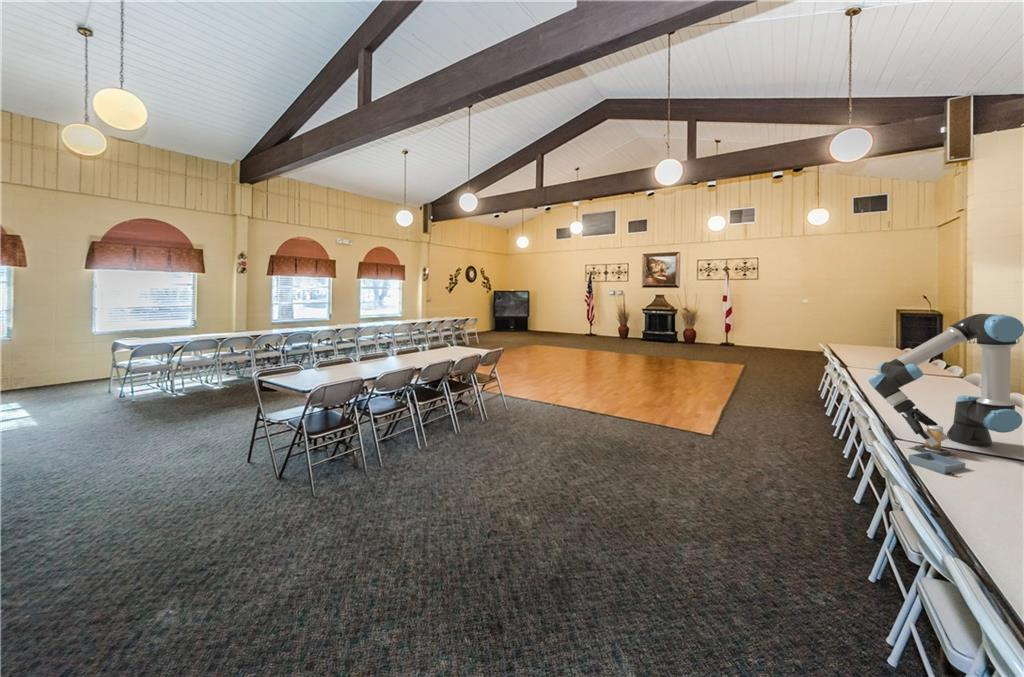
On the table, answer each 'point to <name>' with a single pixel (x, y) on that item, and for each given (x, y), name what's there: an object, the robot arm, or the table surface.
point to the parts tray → (936, 462)
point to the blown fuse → (934, 437)
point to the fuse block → (942, 451)
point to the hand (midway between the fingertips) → (940, 442)
